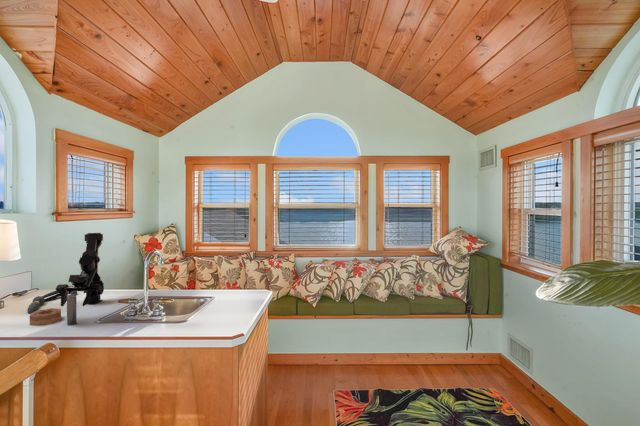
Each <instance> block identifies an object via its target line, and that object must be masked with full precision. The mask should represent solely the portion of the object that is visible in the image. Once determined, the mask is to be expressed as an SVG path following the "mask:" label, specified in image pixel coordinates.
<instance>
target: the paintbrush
mask: <svg viewBox="0 0 640 426" xmlns="http://www.w3.org/2000/svg"><path fill="white" fill-rule="evenodd" d="M42 296H43V295H42ZM42 296H41V295H40V296H39V295H38V296H34V298H33V299H32V302H31V303H30V304H29V305H28V307H27V310H26V311H27V313H28V314H31V313H33V312H36V311H37V310H38V309H39V306H43V304H44V303H45V302H44V301H45V299H46V298H44V297H42Z"/></svg>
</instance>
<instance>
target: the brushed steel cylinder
mask: <svg viewBox="0 0 640 426" xmlns="http://www.w3.org/2000/svg"><path fill="white" fill-rule="evenodd" d="M77 316H78V315H77V294H76V293H68V294H67V301H66V325H67V326H74V325H76V324H77V323H78V322H77V321H78V319H77V318H78V317H77Z"/></svg>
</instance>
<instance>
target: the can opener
mask: <svg viewBox="0 0 640 426" xmlns="http://www.w3.org/2000/svg"><path fill="white" fill-rule="evenodd" d="M69 287H74V285H69ZM71 293H76V295H77V294H78V291H72V292H71ZM42 297H44V299H45V301H44V303H47V302H50V301H53V300H55V299H58V298H61V295H60V294H59V293H58V291H57V290H56V289H55V290H53V291H51V292H49V293H46V294H44V295H42Z"/></svg>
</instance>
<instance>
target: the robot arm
mask: <svg viewBox="0 0 640 426" xmlns="http://www.w3.org/2000/svg"><path fill="white" fill-rule="evenodd" d="M103 241H104V234H103V233H102V232H88V233H86V234H84V242H86V246H85V251H83V252H82V255H81V256H80V258H79V260H78V264H79V266H80V273H79V274H70V275H69V278H68V283H71V286H73V287H70V285H69V284H67V283H65V284H62V283H60V284H58V285H57V286H56V288H55V291H56V290H57V291H58V294H60V295H61V296H60V307H64V306H65V304H67V294H68V293H71V292H72V291H77V292H83V294H85V293H86V294H85V298H84V300H83V302H82V306H83V307H84V306H86V305H95V304H98V303H101V302H103V301H104V299H101V295H103V293H104V291H105V287H104V286H105V285H104V282H103V280H102V278H101V276H100V274H99V271H98V269H99V263H100V262H101V258H100V256H99V248H100V247H101V245H102V244H103V243H102V242H103Z"/></svg>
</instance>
